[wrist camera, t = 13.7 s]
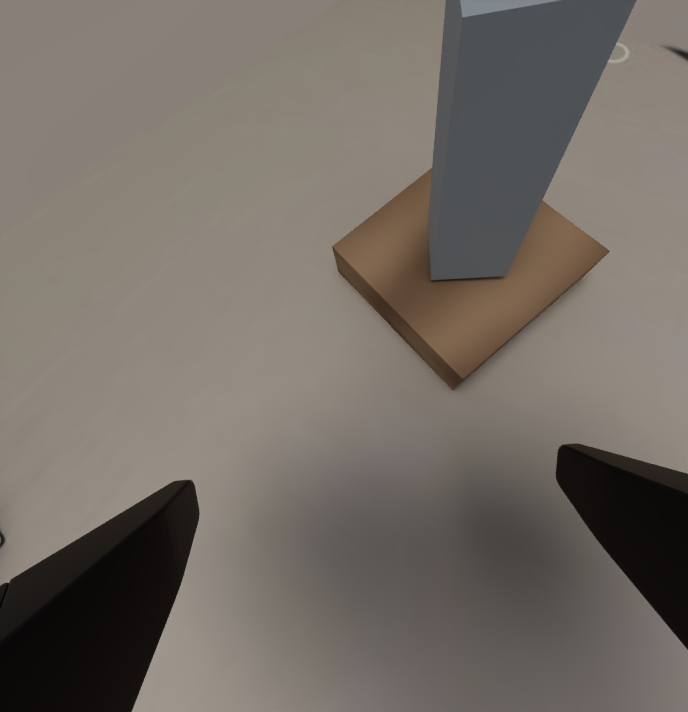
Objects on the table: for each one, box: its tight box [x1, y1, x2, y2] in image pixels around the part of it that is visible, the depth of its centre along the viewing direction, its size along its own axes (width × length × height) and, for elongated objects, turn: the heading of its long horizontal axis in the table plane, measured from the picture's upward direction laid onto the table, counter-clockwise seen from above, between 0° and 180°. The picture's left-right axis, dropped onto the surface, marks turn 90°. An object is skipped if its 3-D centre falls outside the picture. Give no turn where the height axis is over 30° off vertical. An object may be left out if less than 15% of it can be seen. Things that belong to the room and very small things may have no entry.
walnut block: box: [332, 168, 610, 390], centre depth 22 cm, size 11×11×4 cm
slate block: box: [428, 0, 636, 280], centre depth 15 cm, size 4×4×12 cm
